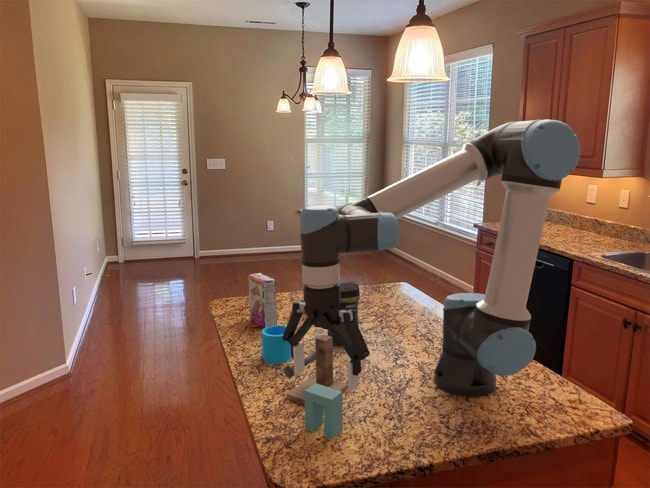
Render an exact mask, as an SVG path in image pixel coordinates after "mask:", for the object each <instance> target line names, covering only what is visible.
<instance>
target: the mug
mask: <svg viewBox="0 0 650 488" xmlns="http://www.w3.org/2000/svg"><path fill="white" fill-rule="evenodd" d="M286 327H287V325H286V326H285V325H277V326H270V327H267V328H265V329H264V328H262V330H261V344H262V345H261V347H262V360H263V362H265V363H267V364H272V365H278V364H280V365H281V364H285V363H288V362H289V361H290V360H292V357H291V345H290V344H289V342H287V341H283V339H282V337H283V334H284V332H285V329H286ZM284 362H285V363H284Z"/></svg>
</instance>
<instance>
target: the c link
mask: <svg viewBox="0 0 650 488" xmlns="http://www.w3.org/2000/svg"><path fill="white" fill-rule="evenodd" d="M304 397H305V405H304V429H305V430H307V431H308V432H309V431H310V432H312V433H314V432H315V431H316V430H317V429H318V428H320V426H322V425H323V428H324V429H323V435H324V437H325V438H327V439H330V440H334V438H336V437H337V436H338V435H339V434H340V433H341V432H343V430H344V429H343V425H344V424H343V423H344V421H343V418H344V417H343V415H344V414H343V411H344V410H343V407H344V406H343V404H344V402H343V398H344V397H343V393H342V391H339V390H336V389H333V388H329V387H326V386H323V385H320V384H317V383H315V384H313V385H312V386H310V387H309V388H307V389H306V390H304ZM323 406H324V408H323Z"/></svg>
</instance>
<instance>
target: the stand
mask: <svg viewBox="0 0 650 488" xmlns="http://www.w3.org/2000/svg"><path fill="white" fill-rule="evenodd" d="M327 335H328V334H327ZM327 335H326V334H321V335H319V336H318V337H315V352H313V353H312V354H311V353H310V354H309V355H307V356H306V357H304V365H305V367H306V366H308V365H309V364H311V363H313V362H314V361H315V374H314V375H313V376H311V377H309V378H308V379H305V381H303V382H301V383H300V384H299V385H297V386H296V387H295V388H293V389H291V390H290V391H289V392H287V393H286V396H285V397H286V399H287V400H290V401H293V402H295V403H299V404H301V405H304V406H305V397H304V390H306V389H307V388H309V387H310V386H312V385H313V384H315V383H317V384H320V385H323V386H326V387H329V388H333V389H336V390H339V391H342V394H343V393H345V392H346V391H348V383H345V382H341V381H338V380H335V379H334V356H333V354H334V349H333V347H334V344H333V337H331V336H327ZM283 373H284V375H285V377H286V378H288V379H291V378H293V377H294V376H296V375H295V374H294V364H293V365H287V366H284V368H283ZM323 409H324V406H323Z"/></svg>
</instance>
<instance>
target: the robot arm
mask: <svg viewBox="0 0 650 488" xmlns="http://www.w3.org/2000/svg"><path fill="white" fill-rule="evenodd" d="M580 144H581V143H580V140H579V138H578V136H577V134H576V133H575V131H574V130H573V128H572V127H571V126H569V124H567V123H566V122H563V121H560V120H556V119H548V118H547V119H543V118H539V119H531V120H523V121H522V120H521V121H519V120H518V121H509V122H506V123H504V124H502V125H498V126H496V127H495V128H492V129H491V130H489V131H487V132H486V133H484V134H482V135H480V136H478V137H476V138H473V139H472V140H470V141H468V142H466V143H464V144H463V145H462V148H461V150H459V151H458V152H456V153H453V154H451V155H450V156H447V157H445V158H443V159H441V160H439V161H437V162H435V163H432V164H431V165H430V166H427V167H426V168H423V169H421V170H419V171H417V172H415V173H413V174H411V175H409V176H407V177H405V178H403V179H401V180H399V181H396V182H395V183H393V184H391V185H389V186H386V187H384V188H383V189H380V190H379V191H376V192H374V193H373V194H370V195H368V196H366V197H364V198H362V199H360V200H358V201H356V202H353V203H352V202H350V203H344V204H342V205H340V206H338V208H337V207H336V206H334V205H310V206H307V207H304V208H303V209H302V210H301V211H300V214H299V215H300V226H299V228H300V229H299V234H300V247H301V248H300V251H301V253H300V254H301V272H302V274H301V275H302V276H301V277H302V282H303V286H302V289H303V290H302V291H303V292H302V293H303V294H302V295H303V299H299V300H297V301H295V302H293V303H292V306H291V307H292V310H291V311H292V312H291V314H290V317H289V318H288V321H287V325H286V329H285V332H284V334H283V337H282V339H283V341H287V342H289V344H290V345H291V359H293V365H294V374H295V375H294V376H297V377H298V376H299V375H301V374H302V373H304V372H305V371H306V370H305V369H306V368H305V367H306V366H305V365H304V358H305V351H304V349H305V347H304V342H302V340H303V338H304V336H305V335H306V334H307V333H308V332H309V330H310V329H311V328H312V327H313V326H314V328H322V329H323V330H327V331H328V329H329V331H330V332H331V333H332V334H334V335H335V336H336V338H337V339H338V341H339V342H340V344H341V345H340V346H341V347H342V348H343V350H344V351H345V353H346V354H347V356H348V357H349V359H347V360H346V361H347V362H346V363H347V364H346V365H347V384H348V389H347V391H348V392H353V391H355V389H357V388H358V387H359V375H360V374H361V373H362V361H364V360H366V358H368V357H369V356H370V355H371V353H370V350H369V347H368V345H367V343H366V341H365V339H364V337H363V334H362V331H361V330H360V329H361V328H360V326H359V327H358V325H357V322H356V320H355V312H354V310H353V309H350V310H348V311H344V310H341V308H340V300H341V291H340V284H339V283H340V281H341V275H340V274H341V273H340V271H341V270H340V268H341V267H340V254H346V253H358V252H363V253H364V252H377V251H379V252H382V251H384V250H385V251H386V250H390V249H391V250H392V249H394V248H395V247H396V246H398V243H399V239H400V225H399V222H398V219H400V218H402V217H404V216H406V215H407V214H410V213H412V212H414V211H417V210H418V209H421V208H422V207H424V206H426V205H428V204H430V203H432V202H435V201H437V200H438V199H440V198H442V197H444V196H446V195H448V194H451V193H452V192H455V191H457V190H458V189H460V188H462V187H464V186H467V185H469V184H470V183H473V182H475V181H478V182H482V183H483V182H485V181H487V180H488V179H490V178H493V177H497V176H501V181H500V183H501V184H502V186H503V187H504V188H505V197H504V203H503V206H502V207H503V208H502V212H501V217H500V221H499V227H498V232H497V236H496V240H495V241H496V242H495V246H494V251H493V255H492V261H491V266H490V271H489V275H488V280H487V281H488V282H487V285H486V290H485V294H484V293H477V292H460V293H459V292H458V293H452V294H450V295H448V296H446V298H445V299H444V302H443V308H442V312H443V313H442V314H443V316H442V317H443V319H442V320H443V322H442V323H443V324H442V349H441V353H440V356H439V358H438V360H437V364H436V365H435V368H434V371H433V373H434V376H433V377H434V378H433V380H434V383H435V385H436V386H437V387H439V388H440V389H441V390H443V391H445V392H447V393H450V394H452V395H456V396H462V397H470V398H471V397H473V398H474V397H483V396H486V395H490V394H491V393H493V392H494V391H495V390H496V387H497V376H499V377H500V376H501V377H508V376H509V377H510V376H512V375H516V374H518V373H519V372H521V370H525V368H527V366H529V365H530V363H531V362H532V361H533V359H534V357H535V354H536V350H537V345H536V344H537V343H536V340H535V339H534V336H533V335H532V333H531V332H529V330H530V329H529V328H530V326H531V325H530V324H531V321H532V315H531V313H530V312H529V310H528V309H527V302H528V298H529V293H530V289H531V284H532V279H533V274H534V273H535V272H534V270H535V267H536V261H537V257H538V252H539V249H540V244H541V239H542V234H543V230H544V225H545V221H546V217H547V212H548V206H549V203H550V198H551V197H552V196H553V195H554V194H557V193H558V192H560V190H561V186H562V180H563V179H564V178H566V177H568V176H569V175H570V173H572V172H573V171H574V170H575V169H576V167H577V166H578V164H579V161H580V159H581V158H580V157H581V145H580ZM304 312H305V315H306V316H307V317H306V318H305V320H304V321H303V322H302V325H300V326H299V324H300V321H301V319H302V316H303V314H304ZM340 317H341V318H342V321H341V319H340ZM343 322H344V324H343ZM335 324H337V326H336V327H334V325H335ZM344 325H345V328H346V329H345V328H344ZM298 326H299V328H298ZM297 328H298V330H297ZM346 330H347V331H346Z"/></svg>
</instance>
